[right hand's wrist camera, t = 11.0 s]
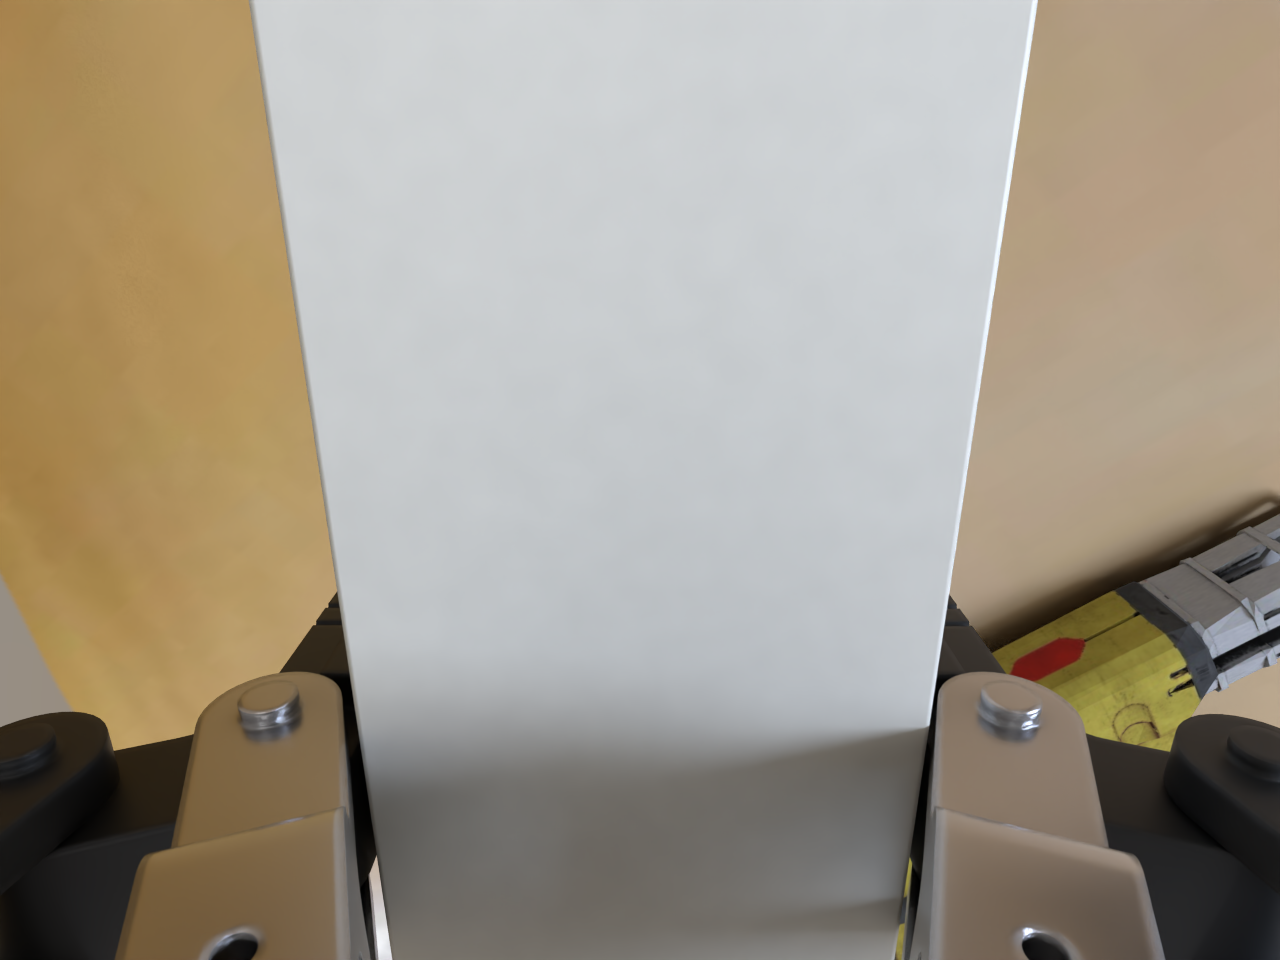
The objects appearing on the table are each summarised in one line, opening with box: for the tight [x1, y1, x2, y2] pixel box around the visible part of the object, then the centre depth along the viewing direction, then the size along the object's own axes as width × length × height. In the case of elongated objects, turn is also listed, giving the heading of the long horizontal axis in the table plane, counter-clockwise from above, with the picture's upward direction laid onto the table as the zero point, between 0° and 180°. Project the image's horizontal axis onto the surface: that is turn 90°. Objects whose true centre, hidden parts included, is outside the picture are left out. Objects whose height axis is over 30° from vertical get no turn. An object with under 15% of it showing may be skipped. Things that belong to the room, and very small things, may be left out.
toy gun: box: [894, 514, 1280, 960], centre depth 33 cm, size 5×24×15 cm
